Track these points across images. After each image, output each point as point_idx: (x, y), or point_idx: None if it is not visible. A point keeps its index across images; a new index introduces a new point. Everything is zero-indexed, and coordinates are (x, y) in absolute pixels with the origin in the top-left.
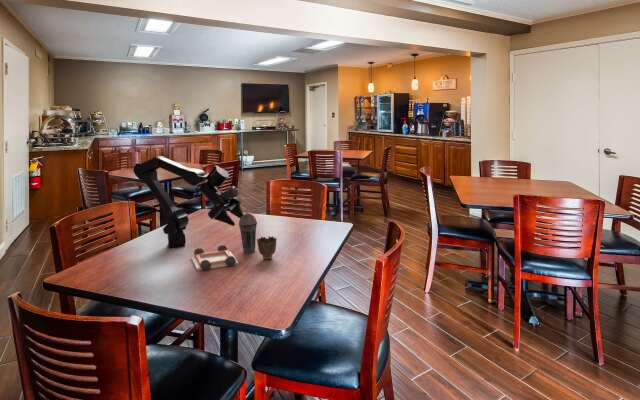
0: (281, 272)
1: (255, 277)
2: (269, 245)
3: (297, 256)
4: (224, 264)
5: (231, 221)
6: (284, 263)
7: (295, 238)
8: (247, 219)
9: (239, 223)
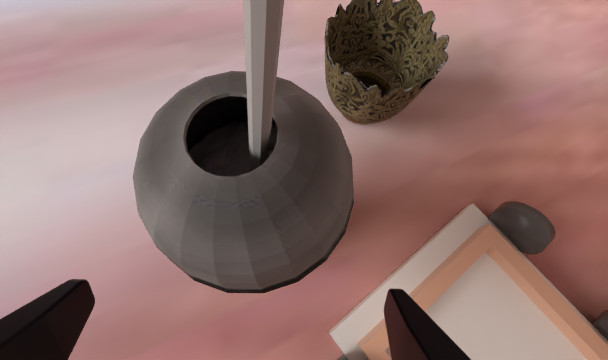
0: (479, 23)
1: (561, 86)
2: (419, 30)
3: (301, 13)
4: (527, 259)
5: (442, 337)
6: None
7: (25, 77)
8: (333, 124)
9: (320, 257)
